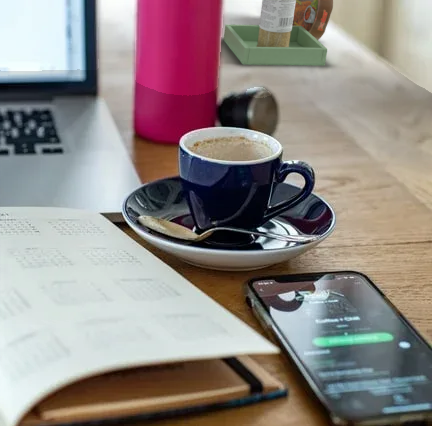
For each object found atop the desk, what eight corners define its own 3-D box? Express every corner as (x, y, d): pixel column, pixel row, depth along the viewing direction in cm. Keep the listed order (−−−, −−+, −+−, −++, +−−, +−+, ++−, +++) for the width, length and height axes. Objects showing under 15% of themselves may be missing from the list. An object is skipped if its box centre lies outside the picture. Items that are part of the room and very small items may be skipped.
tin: (269, 19, 137) (282, -35, 134) (287, 22, 138) (301, -32, 134) (304, 48, 124) (320, -12, 121) (324, 50, 125) (341, -9, 121)
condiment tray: (298, 44, 127) (301, 25, 126) (324, 68, 117) (327, 49, 116) (223, 43, 126) (225, 24, 124) (242, 67, 116) (244, 47, 114)
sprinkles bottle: (280, 46, 124) (294, -52, 117) (294, 56, 120) (309, -45, 113) (250, 47, 122) (262, -52, 116) (263, 57, 119) (276, -45, 112)
